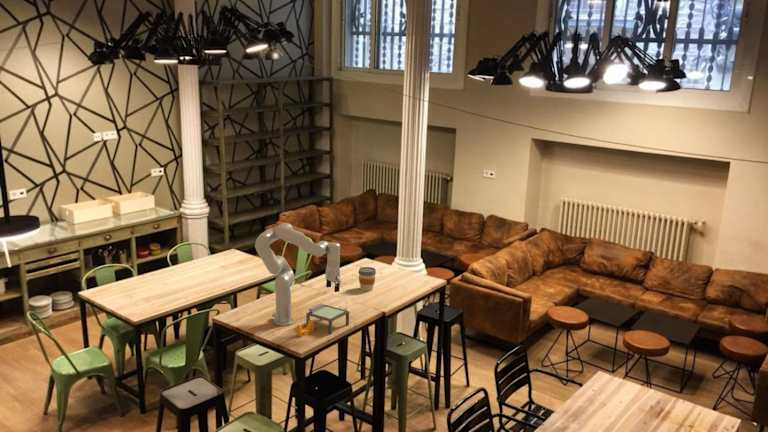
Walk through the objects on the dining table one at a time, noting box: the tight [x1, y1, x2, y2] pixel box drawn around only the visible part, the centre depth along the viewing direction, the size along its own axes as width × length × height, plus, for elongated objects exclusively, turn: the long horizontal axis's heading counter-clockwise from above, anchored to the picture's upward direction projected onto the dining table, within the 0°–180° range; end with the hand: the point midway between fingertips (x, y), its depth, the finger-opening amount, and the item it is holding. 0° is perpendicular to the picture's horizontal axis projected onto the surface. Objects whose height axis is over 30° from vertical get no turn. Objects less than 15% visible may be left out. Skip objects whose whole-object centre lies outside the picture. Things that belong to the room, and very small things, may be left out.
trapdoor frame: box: [305, 304, 350, 335], centre depth 426 cm, size 19×19×9 cm
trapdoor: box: [308, 303, 345, 319], centre depth 425 cm, size 18×15×3 cm
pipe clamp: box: [296, 319, 315, 338], centre depth 414 cm, size 12×4×6 cm, turn 141°
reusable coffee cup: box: [358, 266, 377, 292], centre depth 494 cm, size 13×13×15 cm
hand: (332, 289), depth 420 cm, fingers open, 9 cm apart
